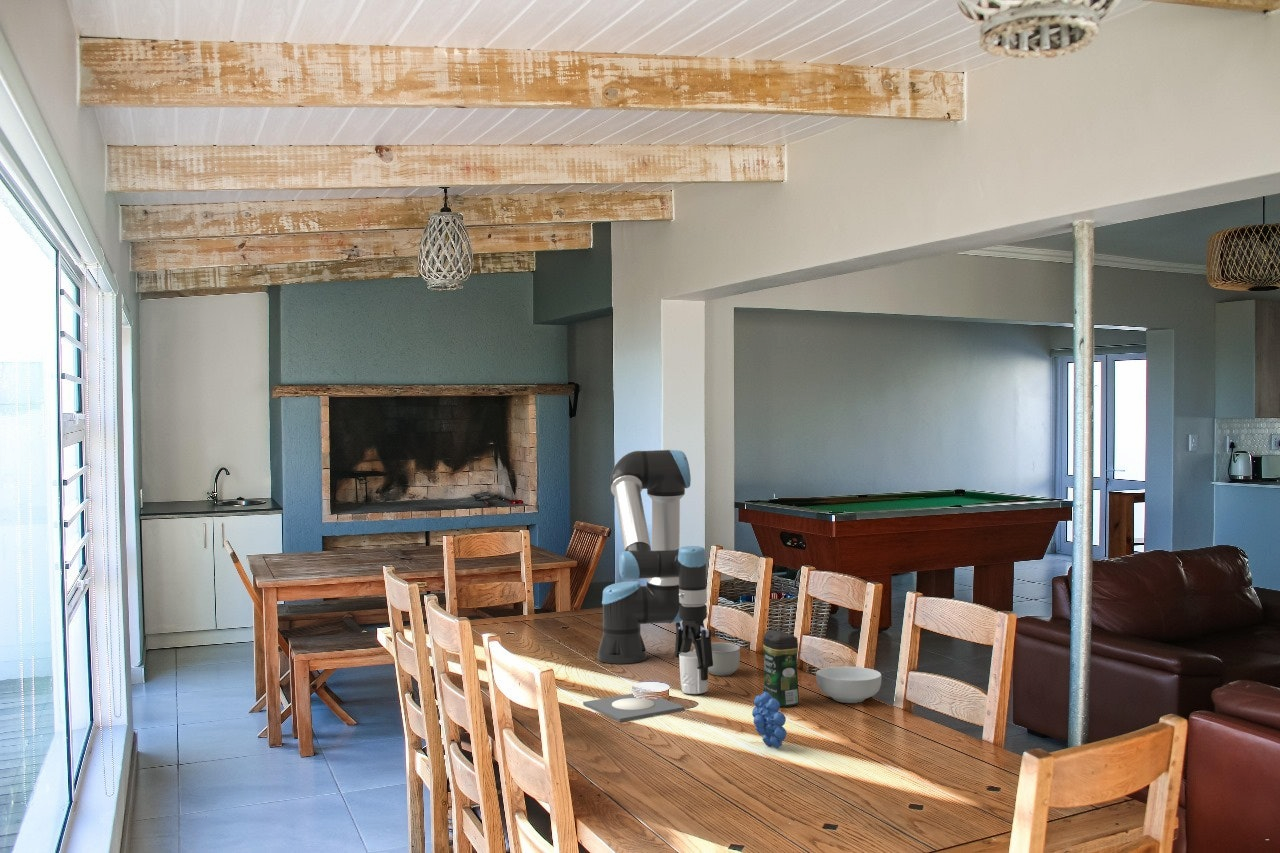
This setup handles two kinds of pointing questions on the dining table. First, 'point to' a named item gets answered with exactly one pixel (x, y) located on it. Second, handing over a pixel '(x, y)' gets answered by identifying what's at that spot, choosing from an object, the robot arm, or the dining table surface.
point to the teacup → (724, 658)
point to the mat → (632, 707)
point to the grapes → (769, 720)
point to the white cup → (689, 672)
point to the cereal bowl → (848, 683)
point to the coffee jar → (781, 667)
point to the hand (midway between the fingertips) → (693, 688)
